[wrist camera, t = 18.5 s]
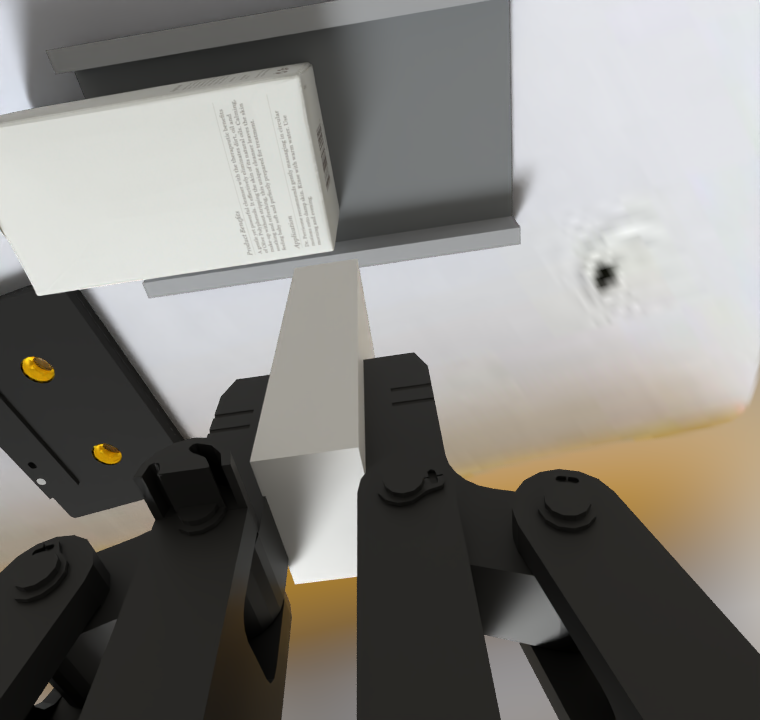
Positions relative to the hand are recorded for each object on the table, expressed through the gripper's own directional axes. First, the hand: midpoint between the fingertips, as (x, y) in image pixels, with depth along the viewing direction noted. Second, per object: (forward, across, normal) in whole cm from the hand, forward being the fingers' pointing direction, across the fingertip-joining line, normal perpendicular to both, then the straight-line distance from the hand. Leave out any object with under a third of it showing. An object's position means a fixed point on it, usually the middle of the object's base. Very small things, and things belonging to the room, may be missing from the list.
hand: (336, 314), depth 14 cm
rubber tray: (+20, -2, 0) cm, 20 cm away
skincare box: (+17, -1, 0) cm, 17 cm away
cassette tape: (+21, -23, -15) cm, 34 cm away
